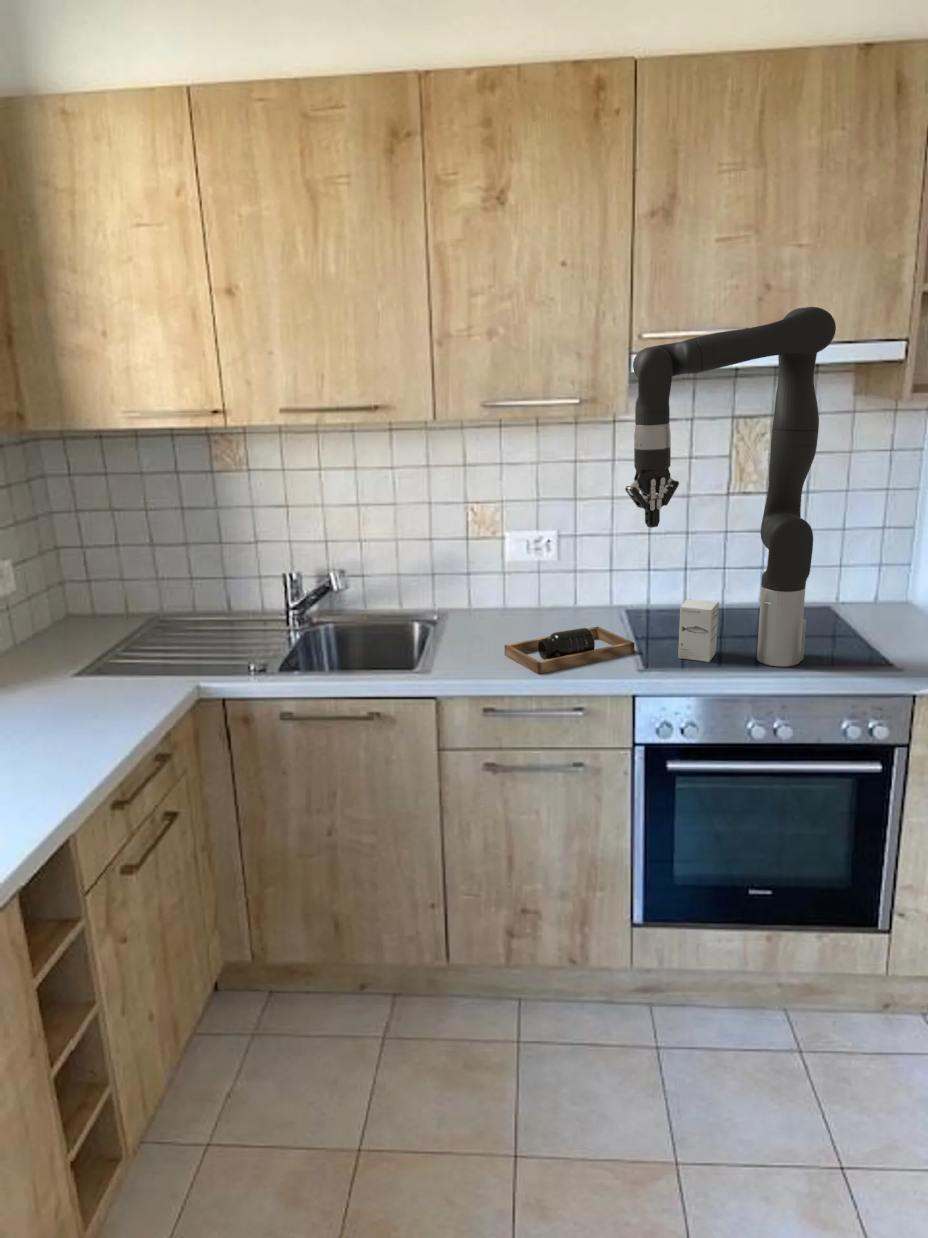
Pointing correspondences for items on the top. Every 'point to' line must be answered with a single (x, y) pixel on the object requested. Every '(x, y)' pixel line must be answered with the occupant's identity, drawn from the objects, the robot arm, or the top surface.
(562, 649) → the supplement bottle
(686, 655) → the supplement box
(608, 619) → the top surface
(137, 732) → the top surface
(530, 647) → the walnut frame
